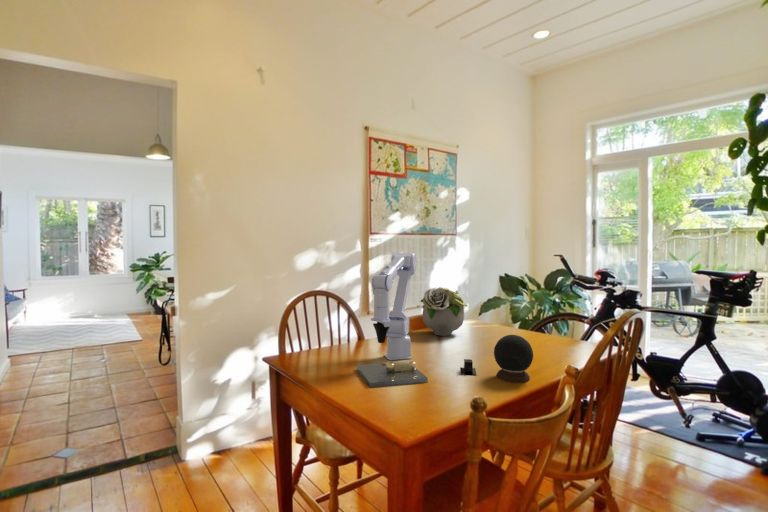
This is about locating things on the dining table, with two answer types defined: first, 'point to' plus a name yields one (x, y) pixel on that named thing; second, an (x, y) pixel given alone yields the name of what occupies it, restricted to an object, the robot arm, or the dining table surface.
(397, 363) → the lever
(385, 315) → the robot arm
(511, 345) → the spherical smart speaker
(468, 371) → the black block on base
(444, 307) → the flower arrangement
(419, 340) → the dining table surface
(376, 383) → the lock plate
